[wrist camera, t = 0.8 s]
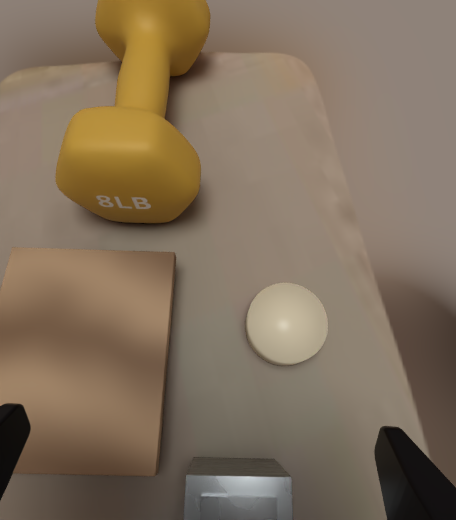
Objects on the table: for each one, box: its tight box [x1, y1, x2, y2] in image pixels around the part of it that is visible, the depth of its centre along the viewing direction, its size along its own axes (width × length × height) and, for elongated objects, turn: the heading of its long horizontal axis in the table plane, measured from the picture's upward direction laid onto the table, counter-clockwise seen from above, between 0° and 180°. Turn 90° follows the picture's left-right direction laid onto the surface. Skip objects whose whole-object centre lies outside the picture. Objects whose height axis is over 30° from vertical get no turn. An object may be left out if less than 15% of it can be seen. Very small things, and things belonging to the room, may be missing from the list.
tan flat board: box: [0, 247, 176, 476], centre depth 20 cm, size 12×10×2 cm
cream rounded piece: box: [245, 283, 328, 366], centre depth 22 cm, size 5×5×2 cm
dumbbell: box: [56, 0, 210, 223], centre depth 25 cm, size 19×9×8 cm, turn 178°
